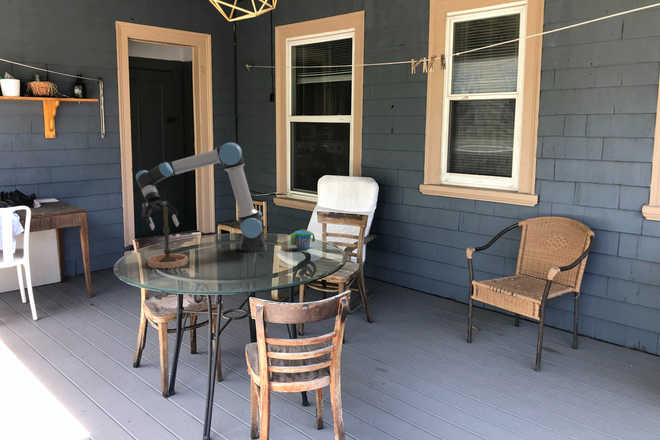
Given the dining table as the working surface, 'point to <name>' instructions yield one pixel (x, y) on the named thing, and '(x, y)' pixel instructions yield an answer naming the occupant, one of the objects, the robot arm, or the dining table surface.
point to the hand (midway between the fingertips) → (165, 226)
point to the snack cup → (302, 239)
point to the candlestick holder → (166, 238)
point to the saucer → (155, 263)
